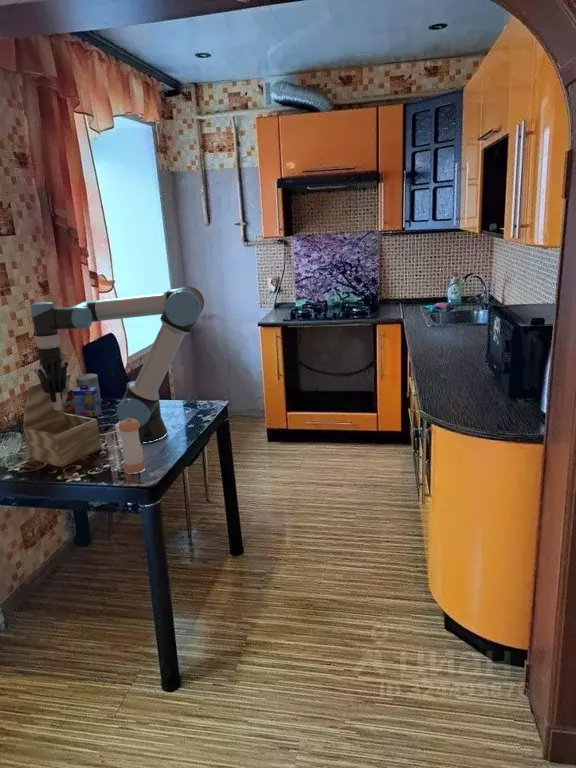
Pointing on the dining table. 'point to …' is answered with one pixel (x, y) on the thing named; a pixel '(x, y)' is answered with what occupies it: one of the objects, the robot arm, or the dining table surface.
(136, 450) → the salt shaker
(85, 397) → the ink cartridge box
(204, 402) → the dining table surface
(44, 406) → the lid flap
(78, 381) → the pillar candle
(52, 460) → the wooden box
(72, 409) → the supplement box
